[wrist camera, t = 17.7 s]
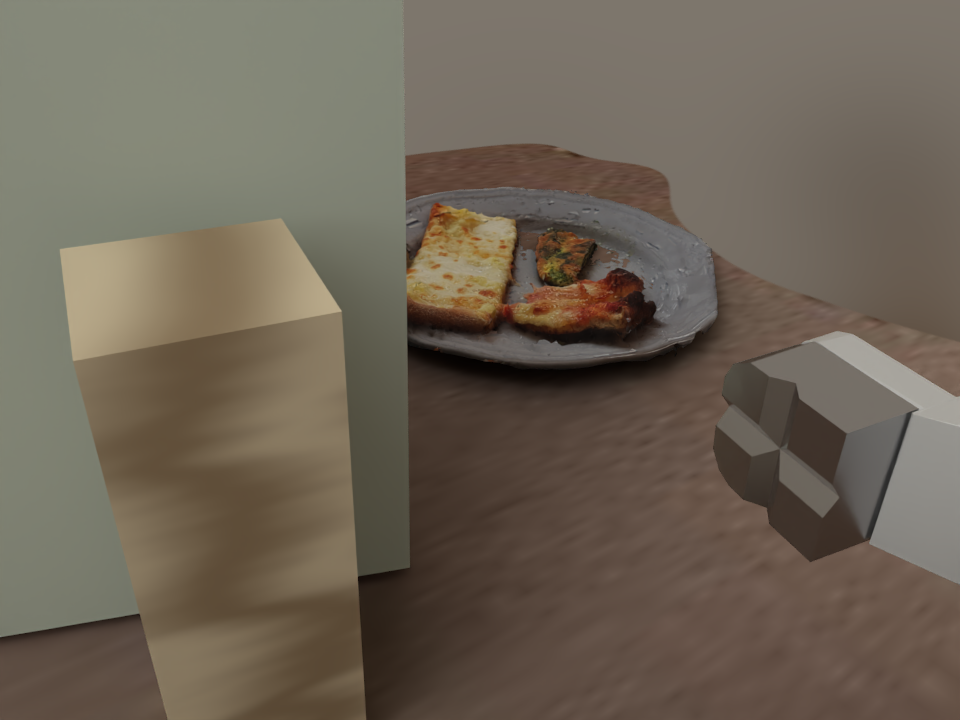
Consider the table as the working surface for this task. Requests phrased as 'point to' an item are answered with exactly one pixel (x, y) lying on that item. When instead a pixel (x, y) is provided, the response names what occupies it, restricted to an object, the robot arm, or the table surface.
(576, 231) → the food plate
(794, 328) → the table surface
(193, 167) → the door
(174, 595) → the doorstop block
